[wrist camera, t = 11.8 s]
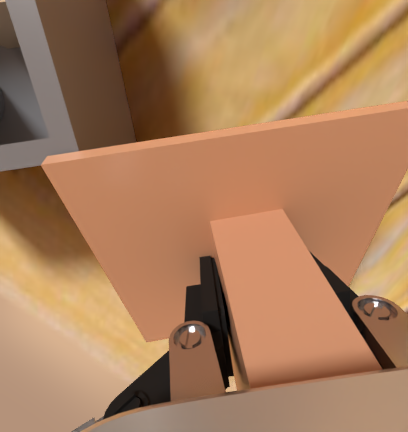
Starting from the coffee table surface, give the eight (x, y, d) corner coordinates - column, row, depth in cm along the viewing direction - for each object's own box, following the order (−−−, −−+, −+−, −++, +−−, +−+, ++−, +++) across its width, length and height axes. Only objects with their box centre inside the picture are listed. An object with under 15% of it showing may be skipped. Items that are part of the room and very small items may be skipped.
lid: (407, 92, 9) (819, 227, 3) (327, 287, 17) (408, 420, 12) (55, 145, 8) (-149, 412, 3) (147, 321, 17) (141, 477, 11)
